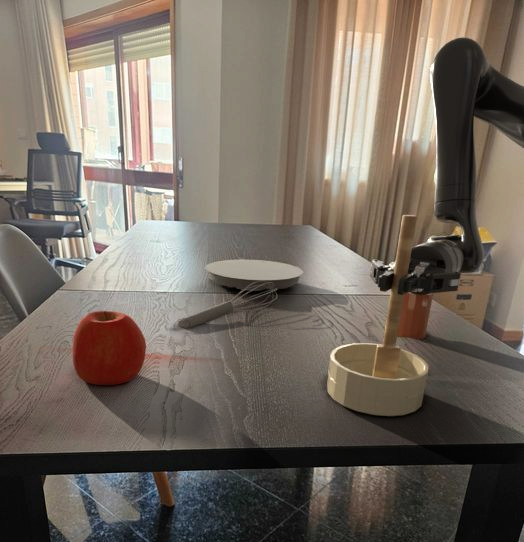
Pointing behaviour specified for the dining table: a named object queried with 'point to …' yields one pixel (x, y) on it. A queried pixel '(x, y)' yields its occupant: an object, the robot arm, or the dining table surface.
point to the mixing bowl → (375, 381)
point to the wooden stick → (395, 304)
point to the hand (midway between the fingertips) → (392, 285)
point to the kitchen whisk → (218, 311)
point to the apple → (108, 348)
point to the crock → (414, 315)
